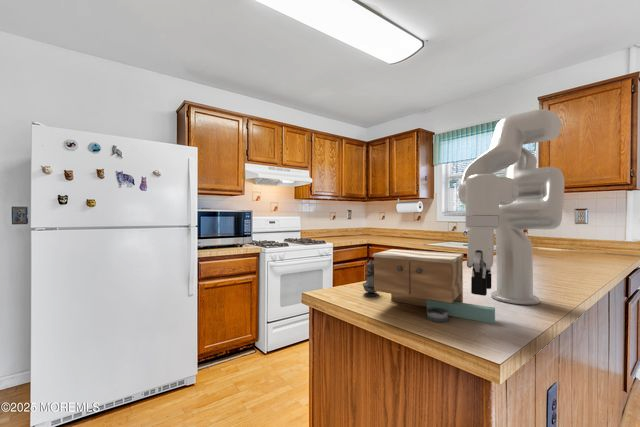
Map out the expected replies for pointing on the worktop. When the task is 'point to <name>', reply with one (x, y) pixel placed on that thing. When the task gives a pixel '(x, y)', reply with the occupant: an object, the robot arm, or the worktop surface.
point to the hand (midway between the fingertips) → (481, 291)
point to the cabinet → (419, 276)
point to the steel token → (437, 315)
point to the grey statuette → (370, 281)
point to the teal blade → (465, 310)
